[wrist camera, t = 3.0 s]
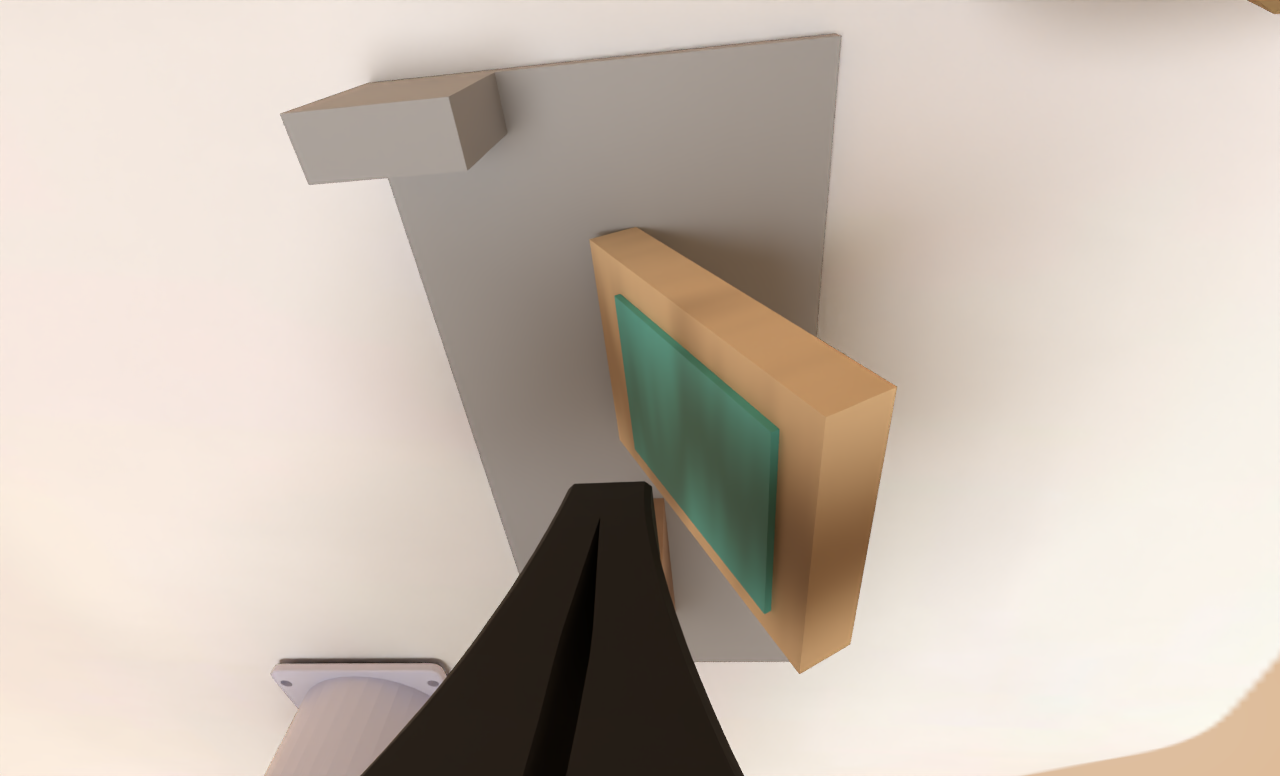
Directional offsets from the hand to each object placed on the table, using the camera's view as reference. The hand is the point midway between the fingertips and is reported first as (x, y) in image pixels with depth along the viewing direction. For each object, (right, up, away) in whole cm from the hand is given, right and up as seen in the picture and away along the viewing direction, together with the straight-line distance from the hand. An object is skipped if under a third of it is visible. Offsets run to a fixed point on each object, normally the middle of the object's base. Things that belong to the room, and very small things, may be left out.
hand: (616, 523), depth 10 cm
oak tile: (0, +3, +5) cm, 6 cm away
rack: (+1, 0, +8) cm, 8 cm away
